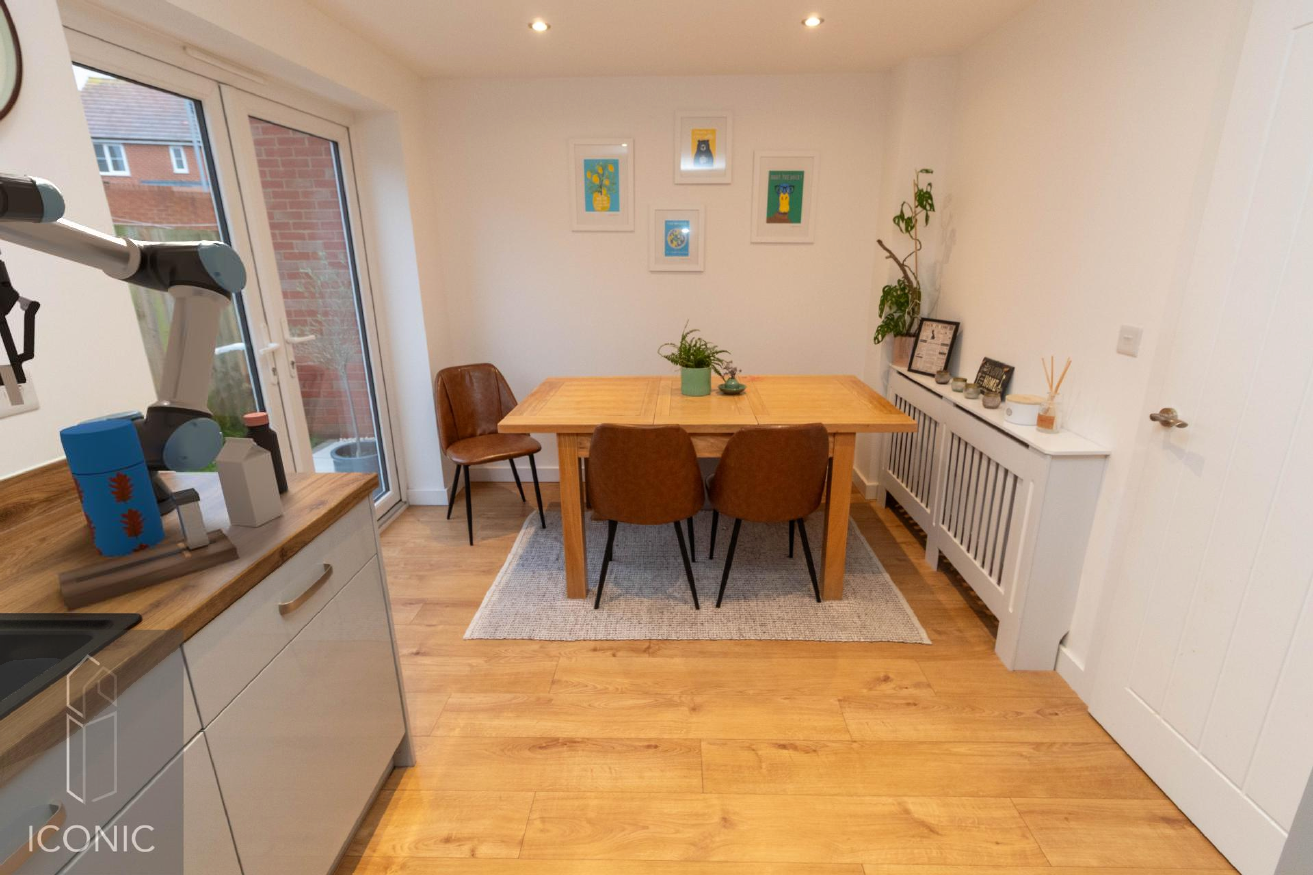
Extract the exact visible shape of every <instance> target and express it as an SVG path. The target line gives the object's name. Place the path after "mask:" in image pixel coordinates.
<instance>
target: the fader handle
mask: <svg viewBox="0 0 1313 875" xmlns="http://www.w3.org/2000/svg"><path fill="white" fill-rule="evenodd" d="M172 492H173V491H172ZM170 496H171V500H172V501H173V502H174V504H175V506H176V507H175V509H176V513H177V516H178V519H179V523H180V526H181V531H182V535H183V537H184V538H183V539H185V542H186V544H187V546H188V547H189V548H190V549H194V548H197V547H201V546H204V545H208V544H209V540H208V536H207V532H208V531H207V530H206V526H205V522H204V517H203V513H202V511H201V506H200V503H199V502H200V501H201V497H200V494H199V491H197V490H196V489H195V488H194V487H190V488H186V489H182V490H177V491H174V492H173V493H170Z"/></svg>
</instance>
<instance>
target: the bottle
mask: <svg viewBox="0 0 1313 875" xmlns="http://www.w3.org/2000/svg"><path fill="white" fill-rule="evenodd" d="M243 421H244V425H245V428H247V432H246V433H245V434H244V436H243V437H242V438H247V439H253V442H255V443H256V444H257V445H258V446H260V447H262V448H264V449H266V450H268V451H269V452H270V454H271V458H272V463H273V468H274V472H275V477H276V481H277V486H278V491H279V495H282V494H284V493H286V492H288V490H289V485H288V481H287V477H286V476H287V475H286V471H285V466H284V462H283V457H282V452H281V448H280V443H279V438H278V435H277V434H278V433H277V432H276V431H275V430H273V429H272V428H270V417H269V413H268V412H261V411H260V412H253V413H252V412H251V413H247V414H245V415H243Z"/></svg>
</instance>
